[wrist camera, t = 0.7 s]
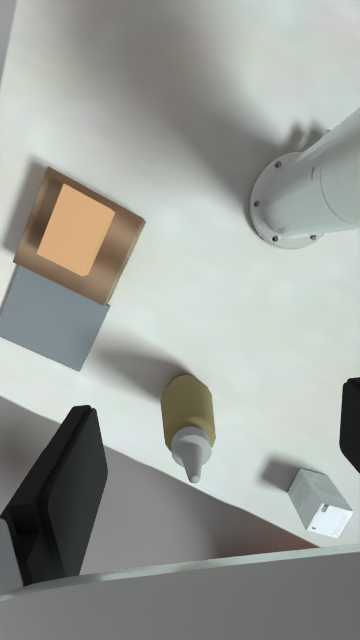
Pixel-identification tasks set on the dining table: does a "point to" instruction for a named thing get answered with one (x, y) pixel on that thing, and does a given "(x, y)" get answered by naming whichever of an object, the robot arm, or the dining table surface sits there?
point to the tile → (75, 231)
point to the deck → (108, 257)
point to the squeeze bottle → (188, 423)
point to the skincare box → (319, 503)
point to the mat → (50, 319)
